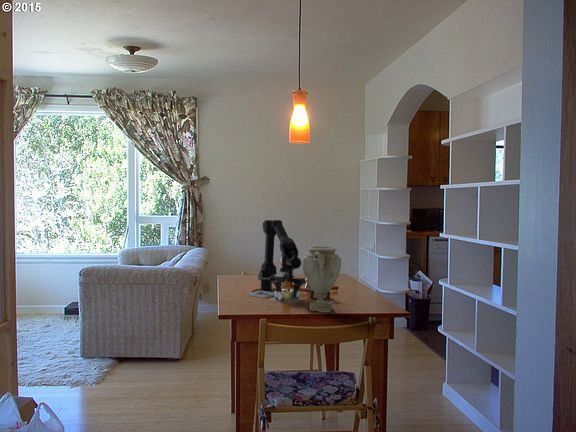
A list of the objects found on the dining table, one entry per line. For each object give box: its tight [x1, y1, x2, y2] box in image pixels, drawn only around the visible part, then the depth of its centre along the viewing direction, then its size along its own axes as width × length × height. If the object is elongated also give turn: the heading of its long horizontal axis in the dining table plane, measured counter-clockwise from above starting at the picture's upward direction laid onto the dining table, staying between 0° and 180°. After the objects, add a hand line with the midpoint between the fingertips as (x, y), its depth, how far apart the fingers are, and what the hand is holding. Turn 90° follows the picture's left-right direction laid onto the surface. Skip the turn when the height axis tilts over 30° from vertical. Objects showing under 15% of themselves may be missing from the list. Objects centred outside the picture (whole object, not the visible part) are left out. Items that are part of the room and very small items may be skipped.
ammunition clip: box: [309, 288, 331, 300], centre depth 291 cm, size 11×2×12 cm, turn 103°
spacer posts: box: [273, 288, 300, 302], centre depth 286 cm, size 14×10×4 cm
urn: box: [301, 246, 342, 312], centre depth 266 cm, size 24×18×30 cm
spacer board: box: [267, 297, 305, 304], centre depth 286 cm, size 14×14×1 cm
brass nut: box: [281, 290, 293, 300], centre depth 286 cm, size 6×5×4 cm
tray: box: [248, 290, 275, 299], centre depth 294 cm, size 10×10×2 cm
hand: (286, 296), depth 286 cm, fingers open, 9 cm apart
